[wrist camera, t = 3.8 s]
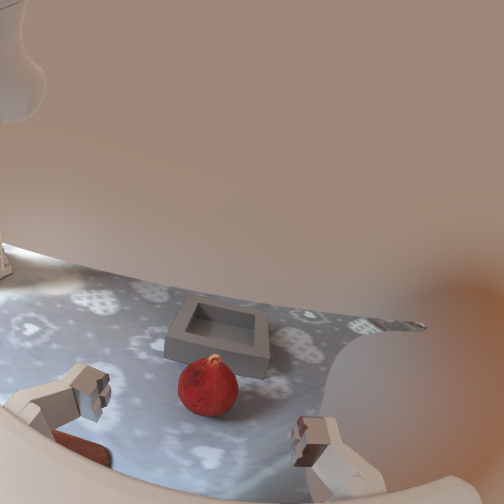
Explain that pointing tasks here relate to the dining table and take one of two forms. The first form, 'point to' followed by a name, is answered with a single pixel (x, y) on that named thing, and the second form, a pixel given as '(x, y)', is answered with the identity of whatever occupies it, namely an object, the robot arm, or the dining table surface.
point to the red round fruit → (208, 386)
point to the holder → (220, 336)
